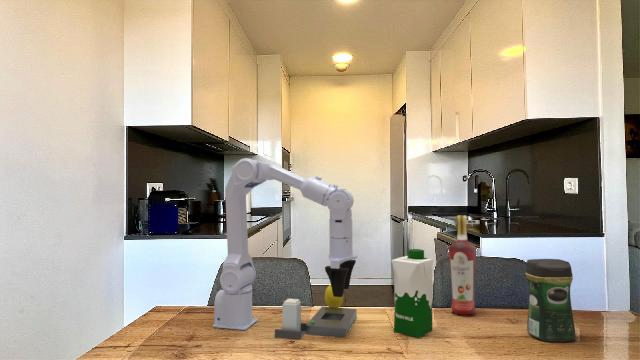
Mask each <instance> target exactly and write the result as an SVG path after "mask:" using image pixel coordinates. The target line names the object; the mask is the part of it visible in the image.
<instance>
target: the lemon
mask: <svg viewBox="0 0 640 360" xmlns="http://www.w3.org/2000/svg"><path fill="white" fill-rule="evenodd" d="M324 302H325V304H326V307H335V308H341V306H342V304H343V302H344V295H343V296H342V297H334V296H333V292H332V287H331V284H329V285H328V286H327V287H326V289H325V292H324Z"/></svg>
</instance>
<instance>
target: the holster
mask: <svg viewBox="0 0 640 360" xmlns="http://www.w3.org/2000/svg"><path fill="white" fill-rule="evenodd" d="M307 323H308V322H301V331H295V330H284V329H282V328H275V329H274V338H277V339H288V340H298V341H301V339H303V337H304V336H305V335H306V325H307Z"/></svg>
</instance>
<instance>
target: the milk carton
mask: <svg viewBox="0 0 640 360" xmlns="http://www.w3.org/2000/svg"><path fill="white" fill-rule="evenodd" d="M433 259H434V258H428V257H425V249H421V248H420V249H419V248H411V249H410V248H409V249H408V250H407V255H404V256H401V257H396V258H394V259H391V261H390V262H391V265H392V269H393V274H394V276H393V278H394V281H393V282H394V285H393V286H394V289H393V290H394V318H393V332H394V333H395V332H396V333H399V334H401V335H405V336H410V337H413V338H417V339H420V338H422V337H423V336H425V335H427V334H429V333H431V332H432V331H433V263H434V260H433Z"/></svg>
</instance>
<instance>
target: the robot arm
mask: <svg viewBox="0 0 640 360" xmlns="http://www.w3.org/2000/svg"><path fill="white" fill-rule="evenodd" d="M322 178H323V177H320V176H318V175H316V176H309V177H307V178H305V177H302V176H300V175H298V174H296V173H293V172H292V171H289V170H287V169H285V168H283V167H281V166H279V165H277V164H273V163H269V162H265V161H263V160H255V159H250V158H247V157H244V158H241V159H239V160H238V161H237V162H236V163H235V164H233V166H232V167H231V174H230V177H229V178H228V181H227V183H226V186H225V213H226V215H225V217H226V240H227V241H226V242H227V247H226V248H227V255H226V258H225V260H223V263H222V271H221V274H220V277H219V284H220V287H221V288H222V289H220V290H218V292H217V293H216V295H215V298H214V301H213V302H214V304H213V305H214V306H213V307H214V308H213V309H214V312H213V313H214V319H213V320H214V323H213V325H212V328H218V329H219V328H220V329H228V330H239V331H240V330H241V331H247V330H248V329H249V328H250V327H251V326H253V325H254V324H255V323H257V322H258V321H259V319H258V318H254V317H253V283H254V282H255V280H256V278H257V271H256V269H255V266H254V262H253V258H252V256H251V255H250V253H249V240H248V239H249V237H248V236H249V235H248V216H247V215H248V212H247V195H248V194H249V193H250V192H252V190H254V188H255V187H258V186H260V185H261V184H263V183H266V181H276V182H280V183H282V184H284V185H287V186H289V187H292V188H294V189H297V190H299V191H300V192H301V195H302V197H303V198H304V199H305V198H306V199H307V200H309V201H312V202H314V203H317V204H319V205H321V206H323V207H327V208H328V209H329V227H328V228H329V229H328V230H329V231H328V232H329V234H328V235H329V255H328V259H329V262H330V265H326V266H325V267H324V271H325V273H326V274H327V277H328V278H329V282H330V285H331V287H332V292H333V296H334V297H342V296H343V297H344V292H345V290H349V288H350V283H351V279H352V278H351V277H352V272H353V270H354V266H355V264H356V262H357V261H356V259H358V255H357V254H353V218H352V217H353V213H352V208H353V206H354V202H355V201H354V196H353V195H352V193H351V192H350V191H349V190H347V189H346V188H338V187H339V185H338V184H336V183H334V184H331V183H328V182H326V181H324V180H322Z"/></svg>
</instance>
